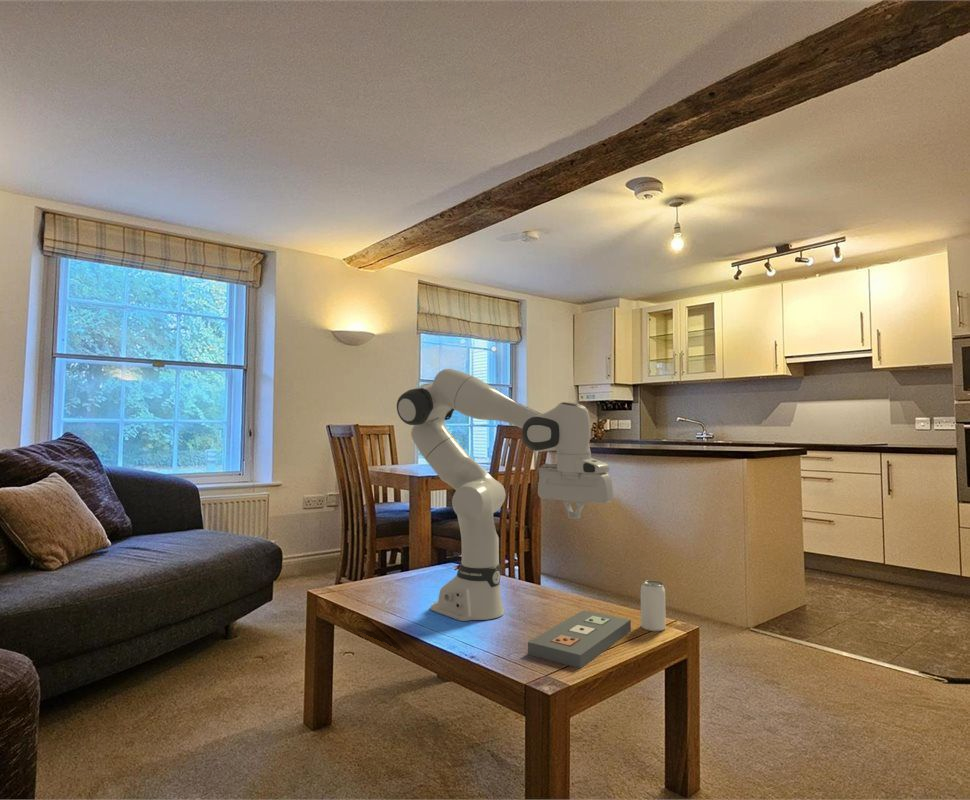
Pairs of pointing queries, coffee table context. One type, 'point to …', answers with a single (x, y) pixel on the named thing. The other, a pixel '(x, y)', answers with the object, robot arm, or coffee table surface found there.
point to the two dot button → (597, 620)
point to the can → (653, 606)
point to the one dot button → (582, 630)
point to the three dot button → (565, 640)
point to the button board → (586, 645)
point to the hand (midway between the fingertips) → (574, 518)
